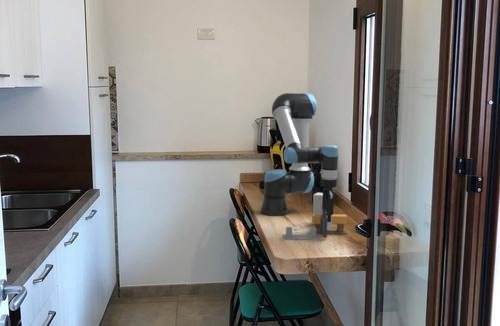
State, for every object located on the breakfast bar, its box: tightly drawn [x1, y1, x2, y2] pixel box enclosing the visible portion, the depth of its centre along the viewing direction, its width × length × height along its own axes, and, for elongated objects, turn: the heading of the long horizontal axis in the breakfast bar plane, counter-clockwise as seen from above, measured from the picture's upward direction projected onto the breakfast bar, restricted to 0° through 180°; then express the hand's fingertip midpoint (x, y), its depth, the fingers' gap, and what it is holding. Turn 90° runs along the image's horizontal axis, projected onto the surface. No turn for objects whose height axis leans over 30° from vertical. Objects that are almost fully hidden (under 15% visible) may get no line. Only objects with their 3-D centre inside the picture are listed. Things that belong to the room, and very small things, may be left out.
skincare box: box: [312, 192, 323, 225], centre depth 257 cm, size 8×7×16 cm
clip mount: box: [282, 226, 321, 241], centre depth 234 cm, size 6×16×4 cm, turn 94°
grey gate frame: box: [319, 209, 328, 239], centre depth 234 cm, size 7×2×12 cm, turn 5°
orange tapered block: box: [311, 213, 348, 225], centre depth 243 cm, size 4×16×4 cm, turn 95°
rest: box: [313, 224, 348, 235], centre depth 244 cm, size 6×16×4 cm, turn 94°
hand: (326, 226), depth 244 cm, fingers open, 5 cm apart
